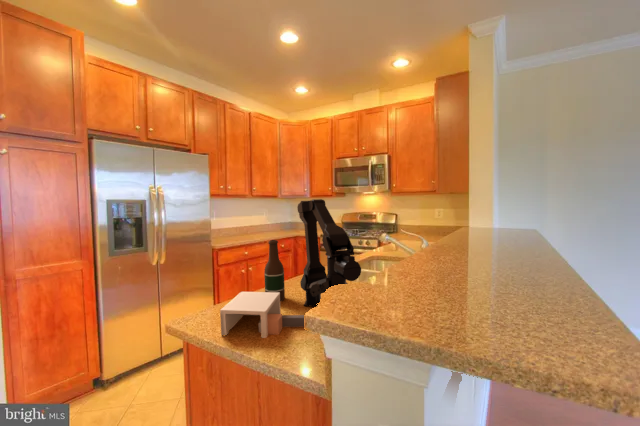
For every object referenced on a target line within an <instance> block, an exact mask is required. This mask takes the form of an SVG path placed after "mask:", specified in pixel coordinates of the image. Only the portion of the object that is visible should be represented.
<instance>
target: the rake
mask: <svg viewBox="0 0 640 426" xmlns="http://www.w3.org/2000/svg"><path fill="white" fill-rule="evenodd" d="M304 315H305V314H292V315H291V314H289V315H288V314H287V315H285V314H282V327H283V328H293V327H294V328H299V327H300V328H303V327H304ZM304 328H305V327H304ZM258 333H261V318H260V319H259V321H258Z"/></svg>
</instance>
